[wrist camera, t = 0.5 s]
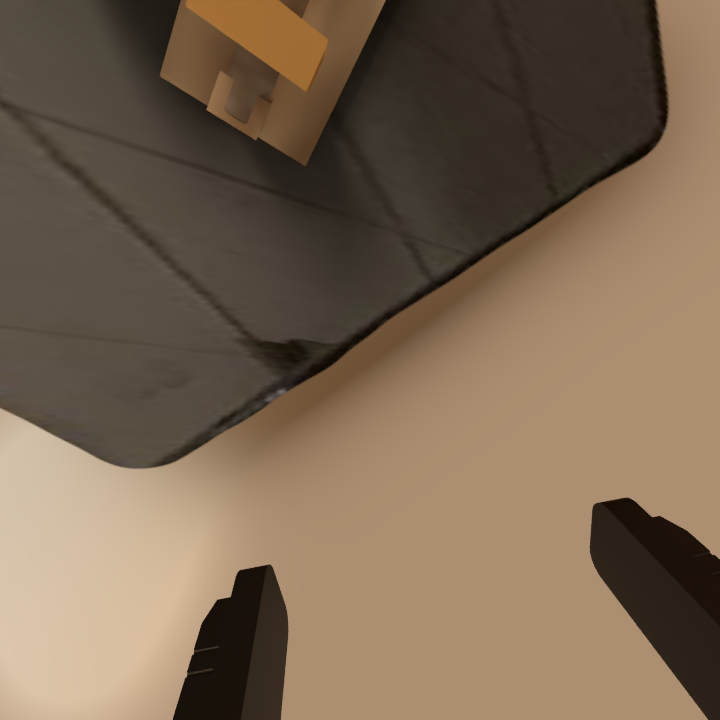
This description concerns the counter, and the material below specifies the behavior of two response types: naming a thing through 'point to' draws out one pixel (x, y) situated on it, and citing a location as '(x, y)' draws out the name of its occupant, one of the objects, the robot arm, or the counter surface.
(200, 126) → the counter surface
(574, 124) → the counter surface
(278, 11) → the orange block
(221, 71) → the pipe rig
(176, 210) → the counter surface
